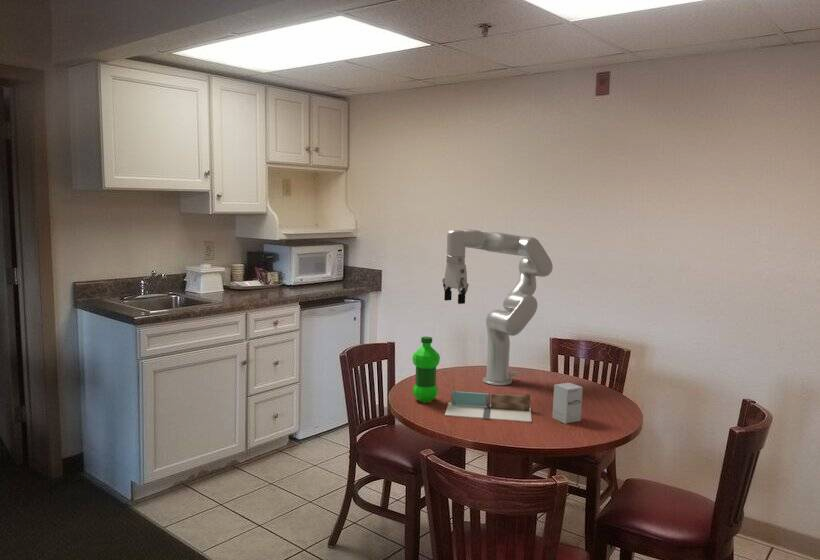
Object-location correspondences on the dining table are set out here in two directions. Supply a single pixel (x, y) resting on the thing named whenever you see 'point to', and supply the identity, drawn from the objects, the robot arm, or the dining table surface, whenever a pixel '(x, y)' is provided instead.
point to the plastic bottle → (425, 371)
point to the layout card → (488, 413)
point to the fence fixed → (510, 402)
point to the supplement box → (567, 402)
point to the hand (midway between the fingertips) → (454, 301)
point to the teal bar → (470, 398)
